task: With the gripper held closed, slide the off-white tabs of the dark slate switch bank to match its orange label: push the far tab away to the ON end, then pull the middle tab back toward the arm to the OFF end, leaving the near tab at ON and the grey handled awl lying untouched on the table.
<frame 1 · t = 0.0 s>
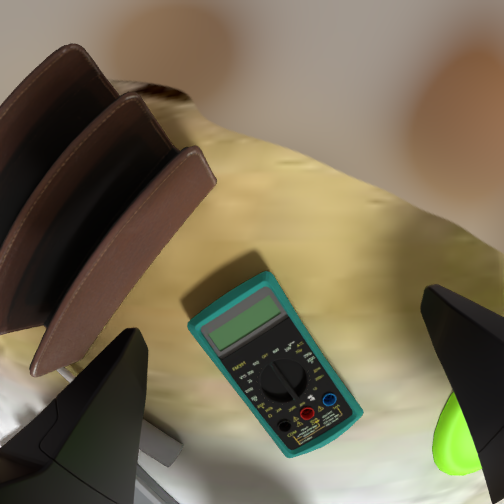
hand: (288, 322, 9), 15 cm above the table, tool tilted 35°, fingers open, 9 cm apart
wineglass: (488, 414, 23), on the table
switch bank: (89, 494, 23), on the table
digital multimeter: (278, 366, 24), on the table
letter holder: (103, 240, 25), on the table
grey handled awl: (122, 411, 23), on the table
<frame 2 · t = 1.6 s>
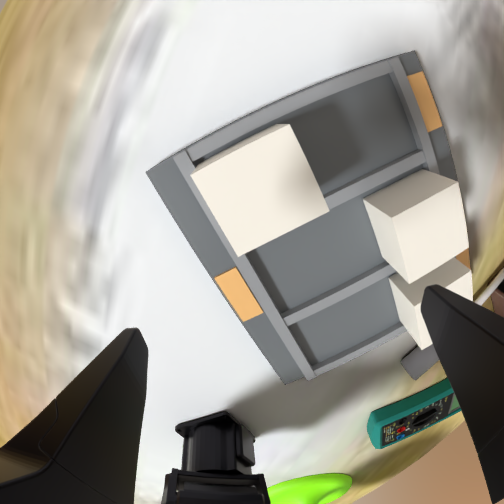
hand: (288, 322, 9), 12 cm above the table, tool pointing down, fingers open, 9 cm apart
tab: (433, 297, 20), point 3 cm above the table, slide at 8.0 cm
tab mid: (418, 222, 18), point 3 cm above the table, slide at 8.0 cm
wineglass: (305, 492, 39), on the table
switch bank: (347, 232, 21), on the table
digital multimeter: (419, 401, 32), on the table
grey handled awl: (446, 319, 25), on the table, tilted 55°
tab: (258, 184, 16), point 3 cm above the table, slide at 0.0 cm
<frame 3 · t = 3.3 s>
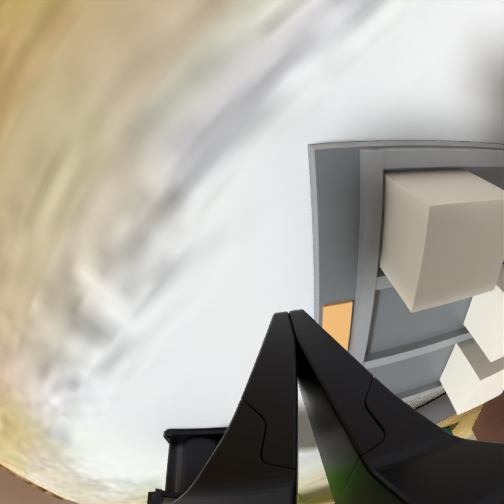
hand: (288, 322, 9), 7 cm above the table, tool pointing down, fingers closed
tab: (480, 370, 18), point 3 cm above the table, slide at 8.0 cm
switch bank: (446, 291, 18), on the table
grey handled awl: (463, 386, 24), point 1 cm above the table, tilted 68°
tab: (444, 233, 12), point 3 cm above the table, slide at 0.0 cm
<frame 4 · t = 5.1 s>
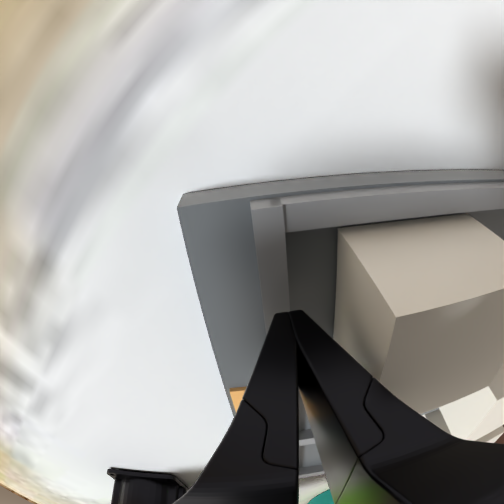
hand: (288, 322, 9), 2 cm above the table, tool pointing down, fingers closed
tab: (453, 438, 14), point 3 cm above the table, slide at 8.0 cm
tab mid: (494, 382, 11), point 3 cm above the table, slide at 8.0 cm
switch bank: (412, 359, 14), on the table
digital multimeter: (368, 485, 28), on the table
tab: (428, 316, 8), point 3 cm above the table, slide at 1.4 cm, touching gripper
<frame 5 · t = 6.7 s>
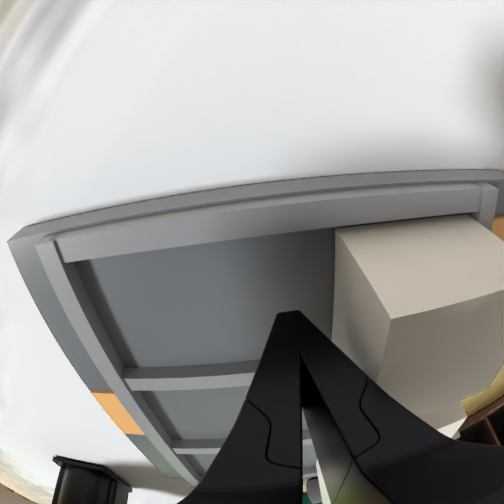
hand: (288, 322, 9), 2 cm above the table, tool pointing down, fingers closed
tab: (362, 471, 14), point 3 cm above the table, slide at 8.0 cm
tab mid: (385, 424, 11), point 3 cm above the table, slide at 8.0 cm
switch bank: (288, 386, 14), on the table
letter holder: (462, 441, 24), on the table
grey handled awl: (372, 467, 20), point 1 cm above the table, tilted 82°
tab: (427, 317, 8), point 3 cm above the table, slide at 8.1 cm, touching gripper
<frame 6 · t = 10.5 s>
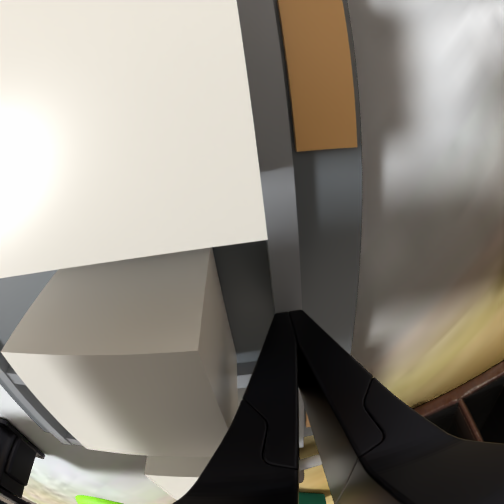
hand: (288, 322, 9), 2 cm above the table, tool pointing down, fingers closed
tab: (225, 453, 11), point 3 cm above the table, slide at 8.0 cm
tab mid: (137, 359, 8), point 3 cm above the table, slide at 6.7 cm, touching gripper
switch bank: (95, 298, 11), on the table
digital multimeter: (254, 492, 25), on the table
letter holder: (436, 435, 21), on the table
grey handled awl: (289, 461, 16), point 1 cm above the table, tilted 91°
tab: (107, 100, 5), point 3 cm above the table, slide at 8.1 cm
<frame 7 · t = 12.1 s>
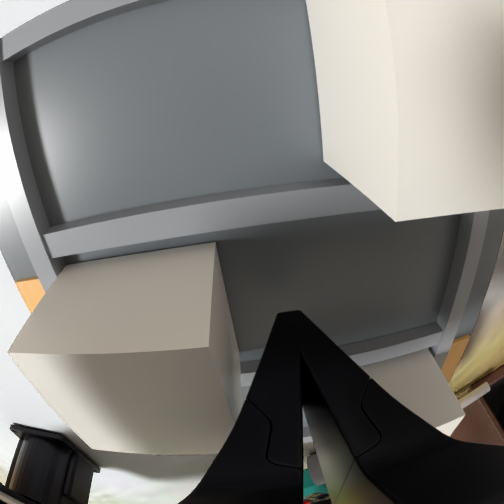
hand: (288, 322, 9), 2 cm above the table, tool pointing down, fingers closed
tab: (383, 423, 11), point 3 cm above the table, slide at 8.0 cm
tab mid: (143, 358, 8), point 3 cm above the table, slide at -0.1 cm, touching gripper
switch bank: (273, 276, 11), on the table
digital multimeter: (321, 482, 25), on the table
letter holder: (488, 408, 22), on the table
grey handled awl: (389, 434, 17), point 1 cm above the table, tilted 84°
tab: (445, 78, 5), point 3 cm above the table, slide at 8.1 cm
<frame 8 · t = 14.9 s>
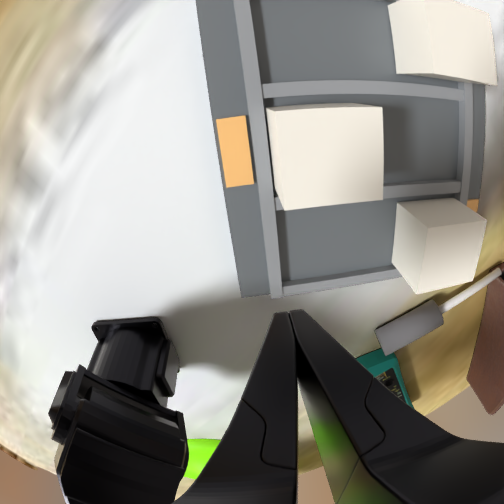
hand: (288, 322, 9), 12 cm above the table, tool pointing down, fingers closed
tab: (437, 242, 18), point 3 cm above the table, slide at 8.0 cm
tab mid: (322, 149, 15), point 3 cm above the table, slide at -0.1 cm
wineglass: (211, 459, 38), on the table
switch bank: (369, 136, 18), on the table
digital multimeter: (372, 386, 32), on the table
letter holder: (503, 316, 28), on the table, touching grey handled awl
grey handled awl: (437, 306, 23), point 2 cm above the table, tilted 109°, touching letter holder
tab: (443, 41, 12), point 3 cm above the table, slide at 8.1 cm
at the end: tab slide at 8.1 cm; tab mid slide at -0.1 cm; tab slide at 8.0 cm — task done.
